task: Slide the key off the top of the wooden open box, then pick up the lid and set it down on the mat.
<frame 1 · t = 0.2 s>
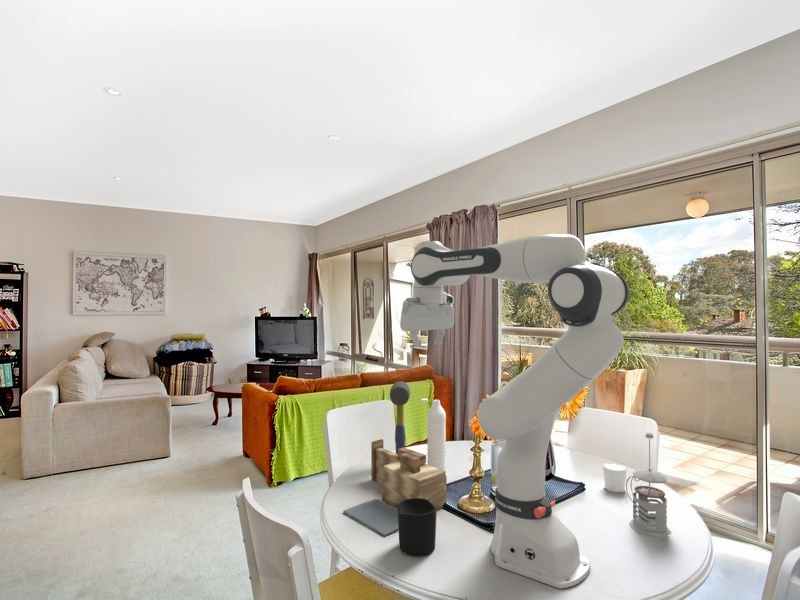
hand: (428, 345, 132), 47 cm above the table, tool pointing down, fingers open, 8 cm apart
wooden open box: (413, 503, 135), on the table
white cup: (614, 489, 146), on the table
lid: (413, 472, 135), point 9 cm above the table, touching wooden open box
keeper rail: (402, 490, 144), on the table
french press: (646, 527, 121), on the table
pen holder: (417, 548, 111), on the table
mat: (380, 517, 126), on the table
key: (411, 456, 141), point 12 cm above the table, slide at 0.0 cm
water bottle: (433, 470, 161), on the table
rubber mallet: (400, 465, 167), on the table
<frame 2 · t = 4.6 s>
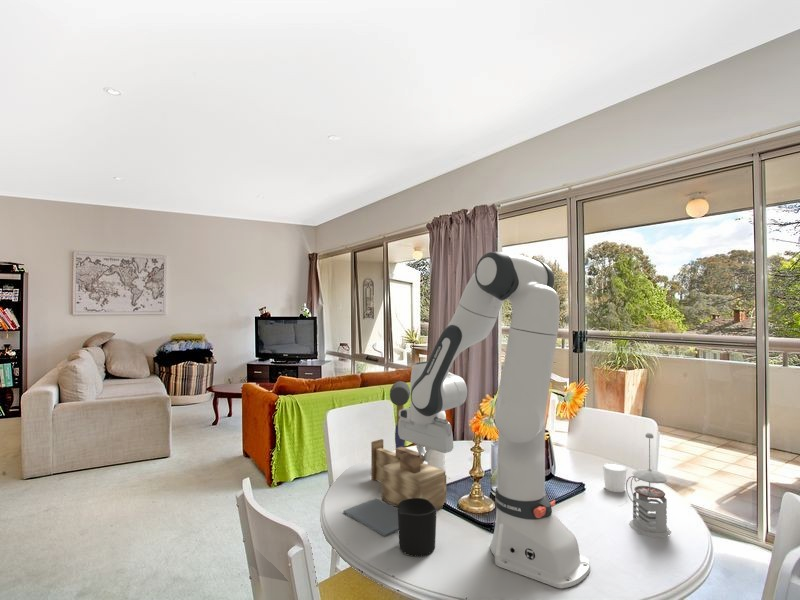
hand: (424, 460, 137), 12 cm above the table, tool pointing down, fingers closed
key: (409, 455, 142), point 12 cm above the table, slide at 1.0 cm, touching gripper
everything else where it was.
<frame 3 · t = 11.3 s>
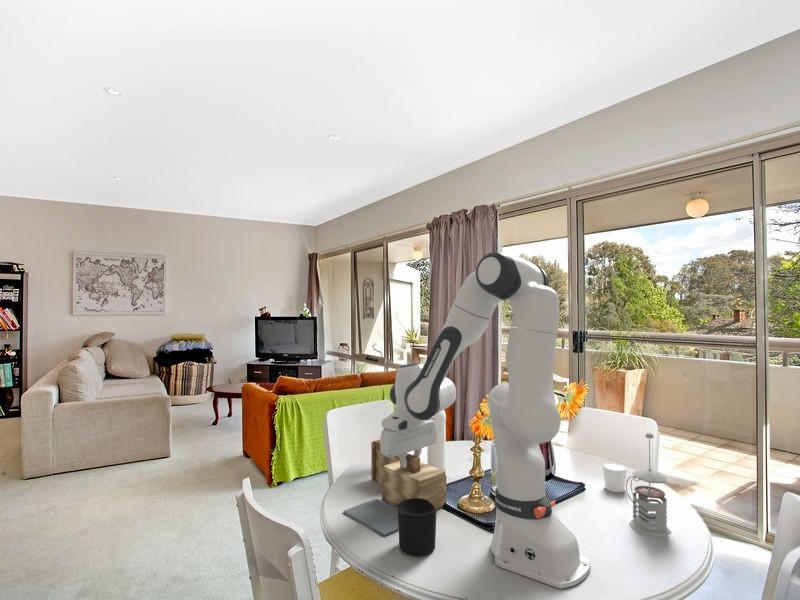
hand: (410, 465, 134), 12 cm above the table, tool pointing down, fingers closed on lid, 2 cm apart
lid: (413, 472, 135), point 9 cm above the table, touching gripper, wooden open box
key: (388, 447, 150), point 12 cm above the table, slide at 11.0 cm
everything else where it was.
when the fingers open (5 cm above the table, at t = 19.3 s): lid drops 1 cm, resting on mat.
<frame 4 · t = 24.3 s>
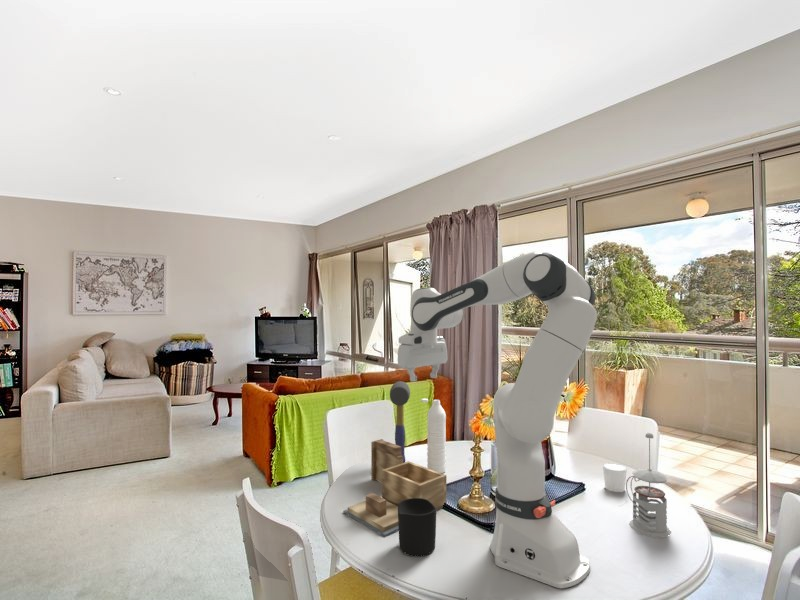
hand: (423, 379, 150), 34 cm above the table, tool pointing down, fingers open, 8 cm apart
lid: (380, 515, 126), point 1 cm above the table, touching mat
everything else where it was.
at the end: key slide at 11.0 cm; lid inside the target area on the mat (0.1 cm from its centre), point 0.6 cm above the mat's base; lid tilted 0° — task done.
